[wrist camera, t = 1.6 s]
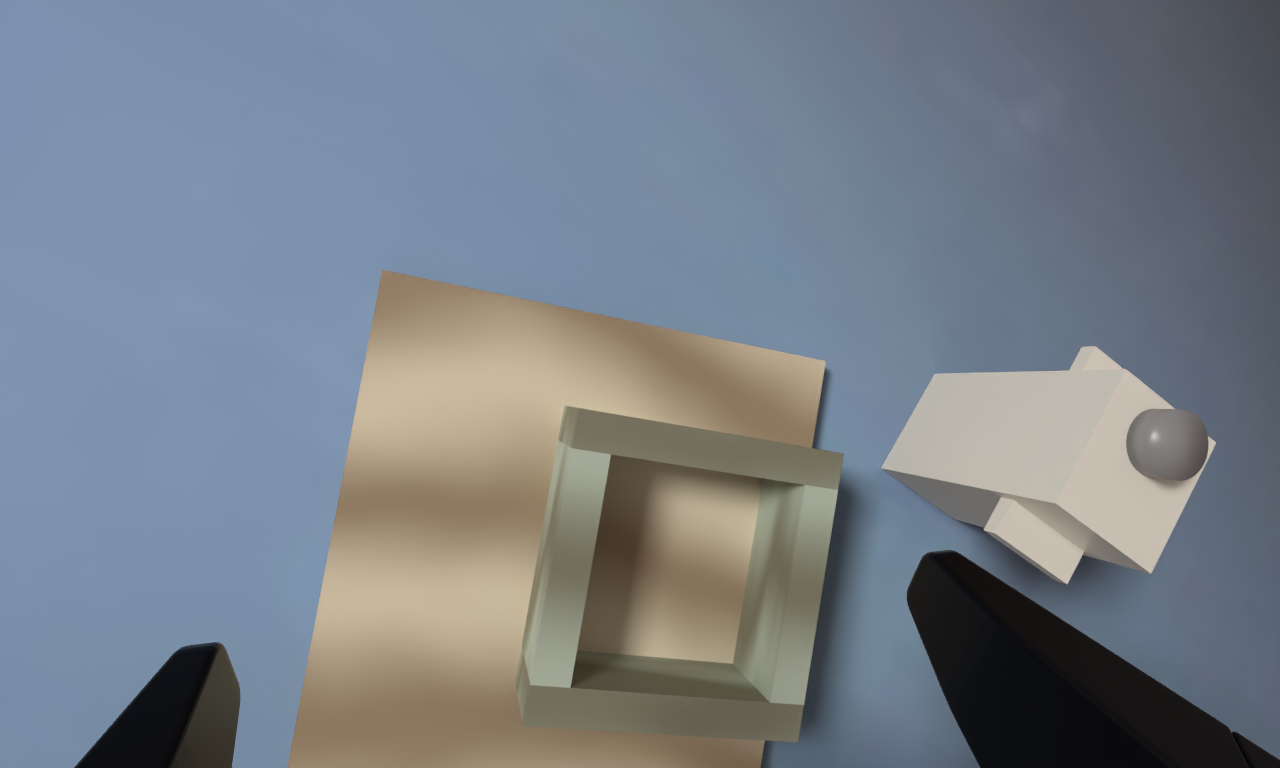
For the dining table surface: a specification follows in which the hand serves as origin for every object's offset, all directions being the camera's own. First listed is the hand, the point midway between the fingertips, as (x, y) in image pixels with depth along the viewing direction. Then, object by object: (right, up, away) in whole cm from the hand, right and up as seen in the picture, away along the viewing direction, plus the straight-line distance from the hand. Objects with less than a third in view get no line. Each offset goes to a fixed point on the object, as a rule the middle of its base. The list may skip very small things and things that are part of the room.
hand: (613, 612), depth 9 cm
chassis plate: (-2, -3, +16) cm, 16 cm away
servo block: (+13, 0, +20) cm, 23 cm away
